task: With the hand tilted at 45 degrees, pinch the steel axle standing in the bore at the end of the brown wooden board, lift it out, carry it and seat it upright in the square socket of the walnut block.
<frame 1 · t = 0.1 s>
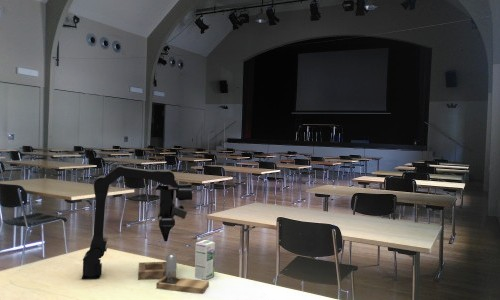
hand: (165, 238, 173), 15 cm above the table, tool pointing down, fingers open, 9 cm apart
brown wooden board: (182, 287, 159), on the table
syrup box: (204, 277, 171), on the table
axle: (170, 285, 160), resting in brown wooden board
socket block: (153, 273, 172), on the table
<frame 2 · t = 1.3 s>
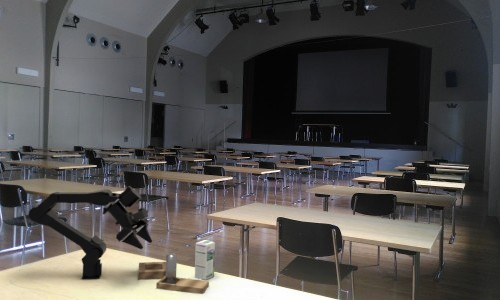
hand: (147, 245, 165), 14 cm above the table, tool tilted 45°, fingers open, 9 cm apart
nothing on the table moved.
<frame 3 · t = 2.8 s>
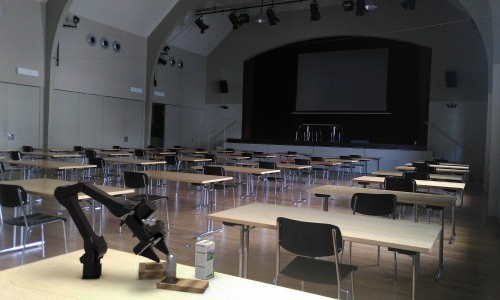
hand: (164, 258, 160), 10 cm above the table, tool tilted 45°, fingers open, 9 cm apart
nothing on the table moved.
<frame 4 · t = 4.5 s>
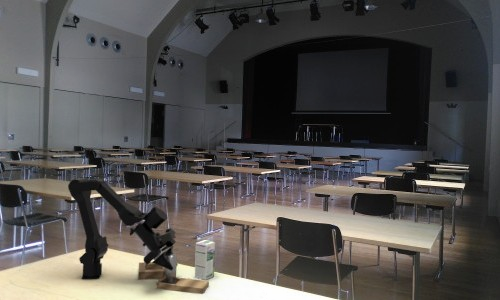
hand: (174, 267, 160), 7 cm above the table, tool tilted 45°, fingers closed on axle, 4 cm apart
axle: (170, 285, 160), resting in brown wooden board, touching gripper
everything else where it was.
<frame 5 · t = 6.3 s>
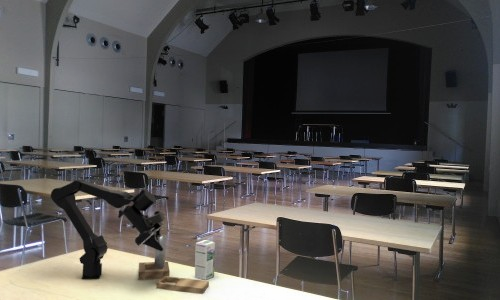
hand: (163, 248, 162), 13 cm above the table, tool tilted 45°, fingers closed on axle, 4 cm apart
axle: (159, 266, 163), point 6 cm above the table, touching gripper
everything else where it was.
when the fingers open (8 cm above the table, at t = 8.3 s): axle drops 1 cm, resting in socket block.
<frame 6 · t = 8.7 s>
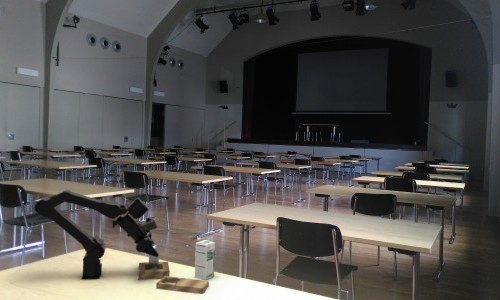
hand: (157, 253, 172), 9 cm above the table, tool tilted 45°, fingers open, 8 cm apart
axle: (153, 273, 172), resting in socket block
everything else where it was.
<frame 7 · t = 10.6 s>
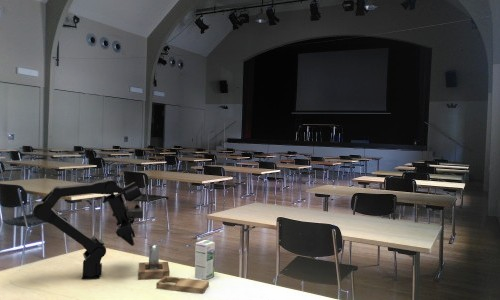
hand: (133, 241, 173), 13 cm above the table, tool tilted 25°, fingers open, 9 cm apart
nothing on the table moved.
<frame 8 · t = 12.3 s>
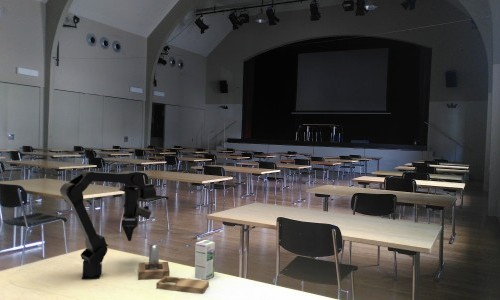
hand: (130, 238, 177), 13 cm above the table, tool pointing down, fingers open, 9 cm apart
nothing on the table moved.
at the end: axle 0.1 cm off-centre on the socket block, point 0.0 cm above the socket block's base; axle tilted 0°; the gripper is holding nothing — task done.
